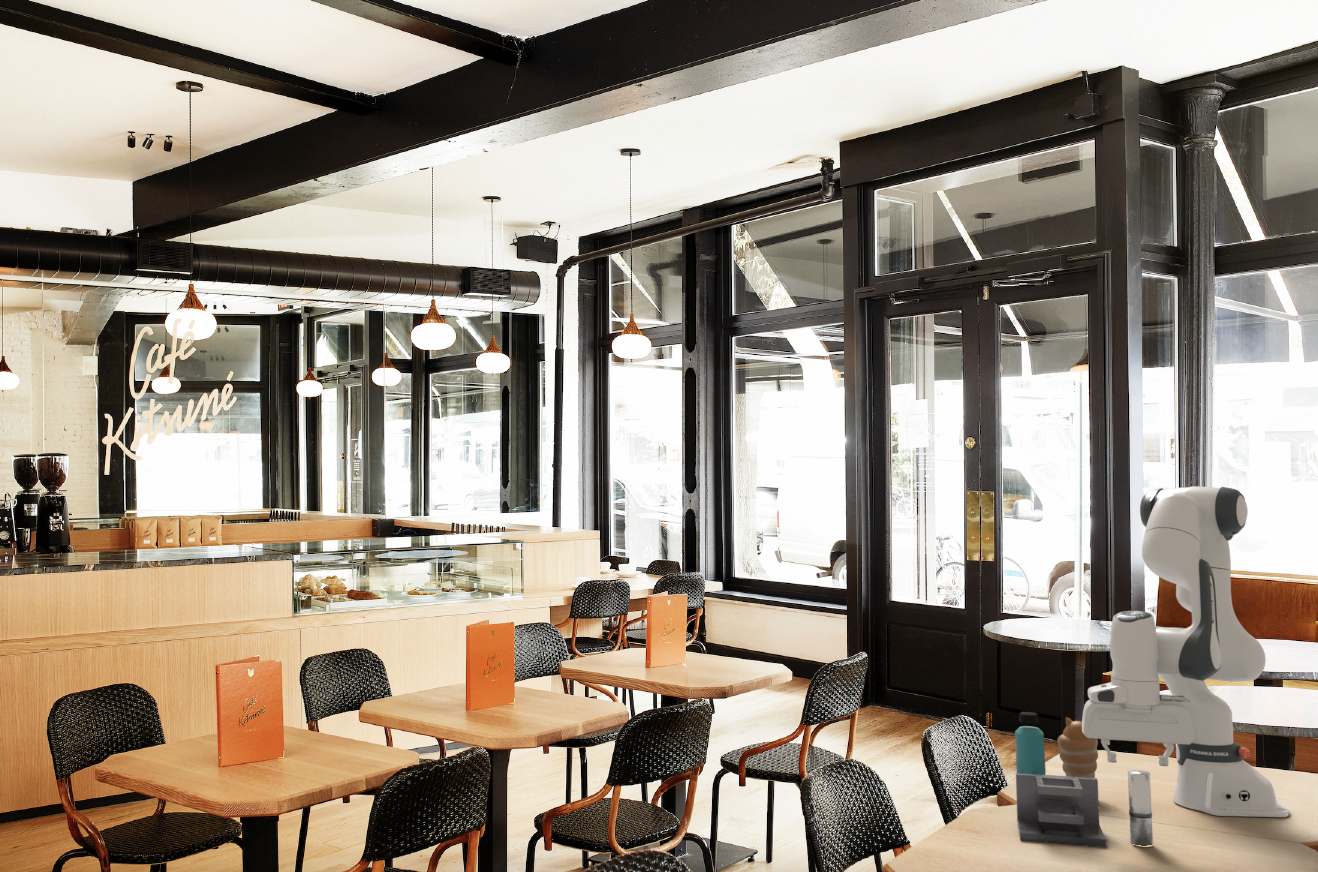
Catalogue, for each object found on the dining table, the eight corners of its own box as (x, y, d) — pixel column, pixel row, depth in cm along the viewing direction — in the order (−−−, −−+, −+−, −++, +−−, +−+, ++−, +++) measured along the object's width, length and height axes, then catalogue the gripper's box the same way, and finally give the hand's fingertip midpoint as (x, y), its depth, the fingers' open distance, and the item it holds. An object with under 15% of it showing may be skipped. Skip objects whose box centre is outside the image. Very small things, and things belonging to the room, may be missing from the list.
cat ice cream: (1097, 793, 239) (1094, 715, 240) (1103, 802, 231) (1100, 722, 232) (1057, 791, 241) (1054, 714, 242) (1062, 800, 233) (1059, 720, 234)
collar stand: (1098, 829, 212) (1096, 777, 212) (1106, 847, 200) (1104, 792, 201) (1017, 823, 216) (1015, 772, 217) (1020, 840, 205) (1018, 787, 206)
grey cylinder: (1151, 841, 203) (1148, 770, 204) (1155, 848, 199) (1152, 775, 201) (1128, 840, 205) (1125, 769, 206) (1131, 846, 201) (1129, 774, 202)
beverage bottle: (1049, 806, 228) (1046, 715, 230) (1018, 804, 230) (1015, 714, 231) (1044, 798, 235) (1041, 710, 236) (1014, 797, 236) (1011, 709, 238)
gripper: (1189, 693, 204) (1191, 764, 203) (1079, 688, 210) (1081, 756, 209) (1196, 698, 198) (1198, 771, 197) (1083, 692, 204) (1085, 763, 203)
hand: (1137, 763), depth 203 cm, fingers open, 8 cm apart
